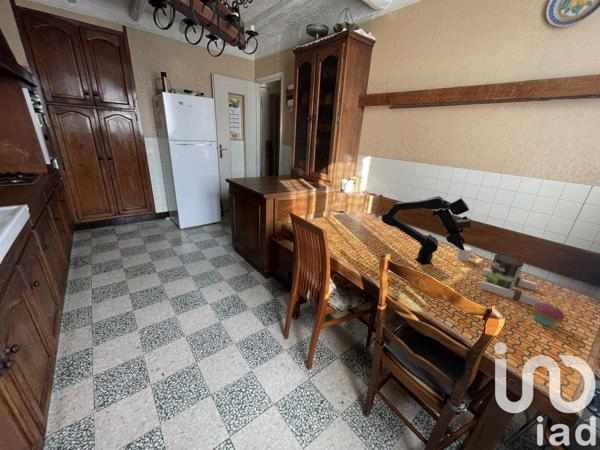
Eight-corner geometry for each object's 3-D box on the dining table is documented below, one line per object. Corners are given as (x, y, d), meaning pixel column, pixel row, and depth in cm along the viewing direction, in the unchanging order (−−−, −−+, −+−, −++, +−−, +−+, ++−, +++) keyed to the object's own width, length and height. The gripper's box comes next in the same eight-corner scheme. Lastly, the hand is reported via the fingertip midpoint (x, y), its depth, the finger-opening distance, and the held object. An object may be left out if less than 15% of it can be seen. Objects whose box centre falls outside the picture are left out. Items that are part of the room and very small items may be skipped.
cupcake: (550, 317, 95) (563, 291, 91) (564, 333, 87) (579, 305, 83) (524, 311, 98) (535, 286, 93) (535, 326, 90) (548, 299, 86)
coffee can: (497, 292, 109) (508, 265, 104) (479, 279, 119) (489, 253, 113) (518, 292, 110) (530, 264, 105) (499, 279, 119) (509, 253, 114)
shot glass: (471, 262, 134) (475, 251, 132) (458, 261, 136) (461, 249, 133) (466, 256, 141) (469, 246, 138) (453, 255, 142) (456, 244, 139)
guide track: (479, 288, 112) (481, 280, 110) (482, 272, 125) (484, 265, 123) (537, 307, 100) (541, 299, 99) (534, 288, 113) (537, 281, 112)
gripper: (464, 217, 109) (482, 247, 108) (465, 207, 123) (481, 234, 123) (438, 227, 116) (456, 256, 115) (442, 217, 130) (458, 242, 129)
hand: (464, 246), depth 120 cm, fingers open, 9 cm apart
